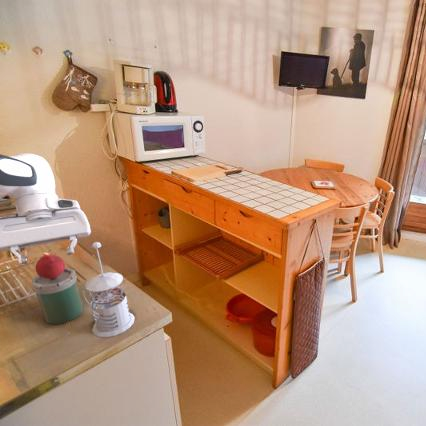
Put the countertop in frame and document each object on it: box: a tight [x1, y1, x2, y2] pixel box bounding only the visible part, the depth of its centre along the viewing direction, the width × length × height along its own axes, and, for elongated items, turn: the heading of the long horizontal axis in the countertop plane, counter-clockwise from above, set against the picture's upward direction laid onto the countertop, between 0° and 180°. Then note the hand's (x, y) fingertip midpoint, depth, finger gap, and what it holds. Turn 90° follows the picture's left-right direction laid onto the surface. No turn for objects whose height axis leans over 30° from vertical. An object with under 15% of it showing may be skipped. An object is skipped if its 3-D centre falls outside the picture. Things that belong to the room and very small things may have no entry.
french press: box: [82, 241, 136, 338], centre depth 81 cm, size 10×12×25 cm
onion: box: [35, 252, 66, 280], centre depth 82 cm, size 6×6×8 cm
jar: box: [30, 266, 84, 325], centre depth 85 cm, size 9×9×12 cm
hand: (48, 258), depth 82 cm, fingers open, 8 cm apart
